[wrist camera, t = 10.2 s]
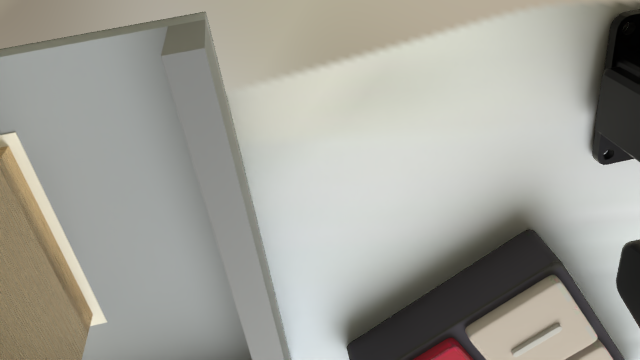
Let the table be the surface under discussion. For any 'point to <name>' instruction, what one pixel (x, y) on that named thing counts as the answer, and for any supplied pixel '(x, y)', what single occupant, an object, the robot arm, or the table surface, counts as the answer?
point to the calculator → (496, 314)
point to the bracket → (35, 279)
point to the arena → (144, 190)
